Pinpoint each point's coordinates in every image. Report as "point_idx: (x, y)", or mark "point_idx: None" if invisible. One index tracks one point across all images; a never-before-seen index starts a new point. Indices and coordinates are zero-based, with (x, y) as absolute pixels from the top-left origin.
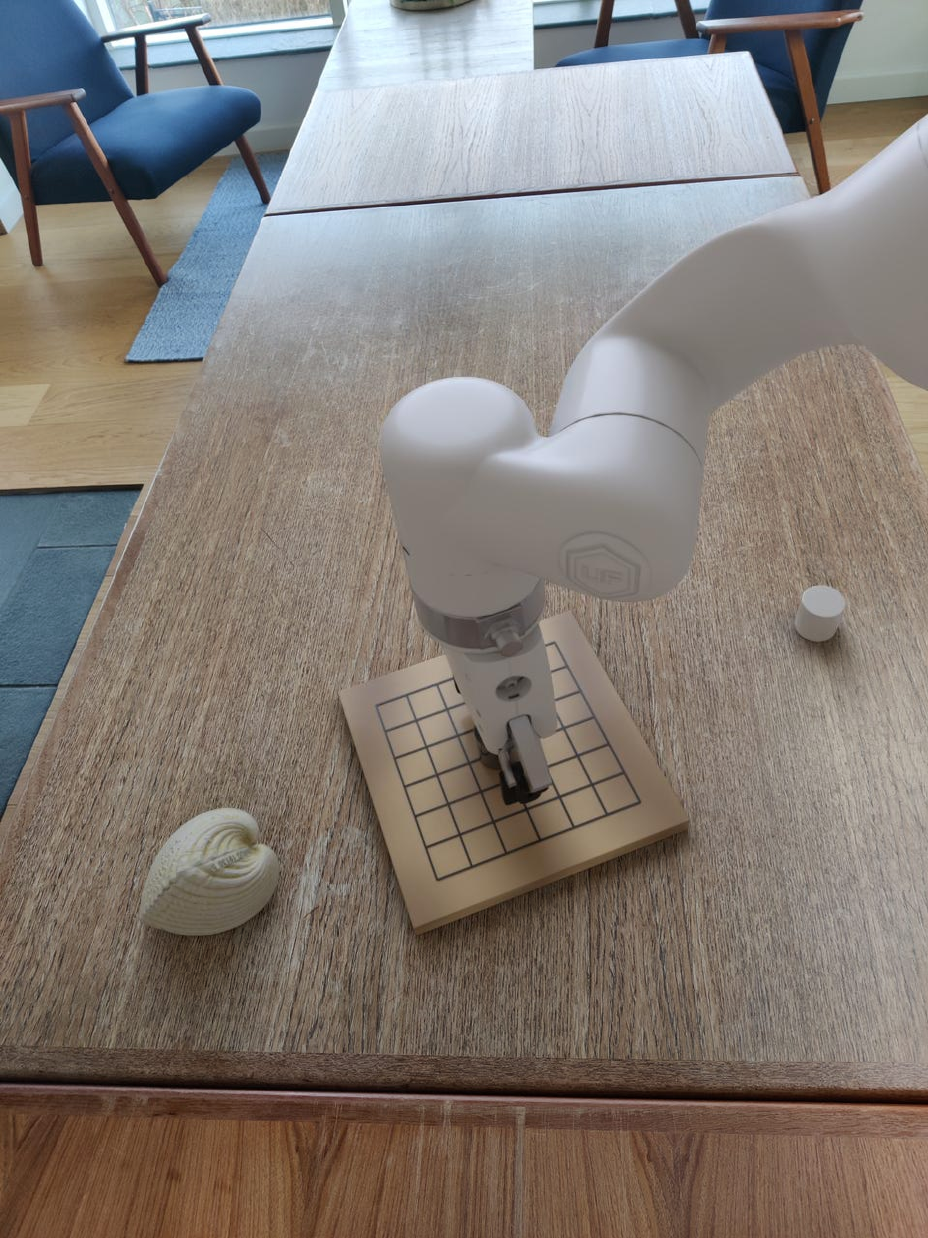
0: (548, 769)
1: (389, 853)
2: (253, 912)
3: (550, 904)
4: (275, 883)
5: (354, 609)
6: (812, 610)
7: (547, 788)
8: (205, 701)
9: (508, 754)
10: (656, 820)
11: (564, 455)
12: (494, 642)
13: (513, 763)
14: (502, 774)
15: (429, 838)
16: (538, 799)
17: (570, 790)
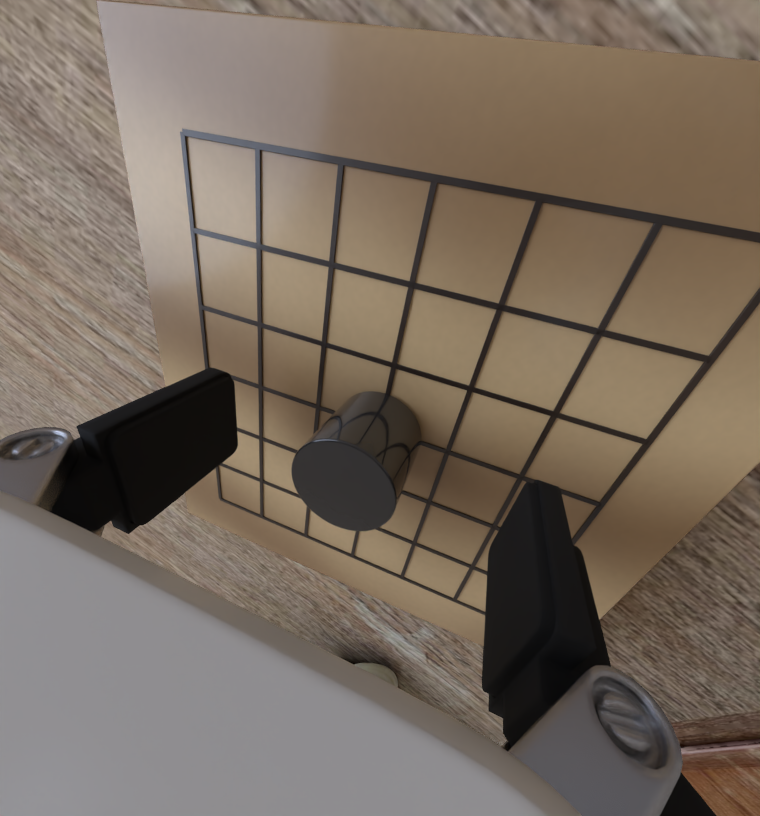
0: (680, 765)
1: (428, 621)
2: (394, 685)
3: (691, 531)
4: (380, 670)
5: (84, 403)
6: None
7: (557, 489)
8: (173, 566)
9: (408, 475)
10: None
11: None
12: None
13: (511, 732)
14: (501, 710)
15: (445, 589)
16: (521, 447)
17: (564, 386)
